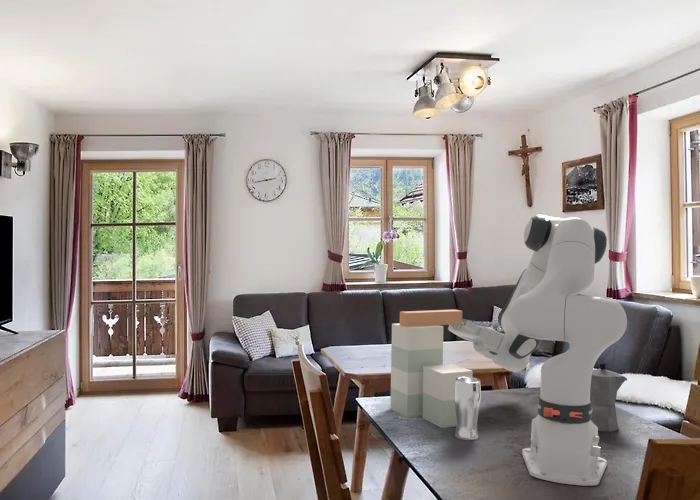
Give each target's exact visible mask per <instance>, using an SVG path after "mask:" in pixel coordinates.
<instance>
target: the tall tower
mask: <svg viewBox="0 0 700 500" xmlns="http://www.w3.org/2000/svg"><path fill="white" fill-rule="evenodd" d="M390 349H391V355H390V357H391V360H390V362H391V363H390V366H391V367H390V407H389V408H390V409H391V410H392V411H394V412H396V413H398V414H399V415H402V416H403V417H405V418H415V417H423V366H435V365H444V364H443V363H444V325H430V326H410V327H405V326H402V325H400V322H399V323H391V348H390Z"/></svg>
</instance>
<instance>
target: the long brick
mask: <svg viewBox="0 0 700 500" xmlns="http://www.w3.org/2000/svg"><path fill="white" fill-rule="evenodd" d="M462 322H463V310H459V309H436V310H432V309H431V310H411V311H399V323H400V325H402V326H405V327H410V326H430V325H440V326H446V325H447V326H449V324H462Z"/></svg>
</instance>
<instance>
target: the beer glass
mask: <svg viewBox="0 0 700 500" xmlns="http://www.w3.org/2000/svg"><path fill="white" fill-rule="evenodd" d="M481 391H482V389H481V379H480V378H477V377H473V378H472V377H458V378H455V386H454V405H455V412H456V419H457V425H456V426H455V432H454V437H455V438H456V439H459V440H463V441H476V440H477V439H478V438H479V432H478V431H479V430H478V418H479V412H480V408H481V403H482V392H481Z"/></svg>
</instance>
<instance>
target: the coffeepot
mask: <svg viewBox="0 0 700 500" xmlns="http://www.w3.org/2000/svg"><path fill="white" fill-rule="evenodd" d="M625 381H628V378H627V377H626V376H624V375H620V373H618V372H615V371H612V370H608V369H606V363H605V362H600V363H599V368H598V369H597V368H596V369H593V371H592V377H591V387H590V402H591V403H592V419H591V421H592V422H593V423H594V424H595V425H596V426H597V427H598V431H599V432H609V433H610V432H616V431H618V430H619V423H618V416H617V410H616V400H617V394H618V391H619V389H620V388H621V386H622V385H623V384H624V382H625Z"/></svg>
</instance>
